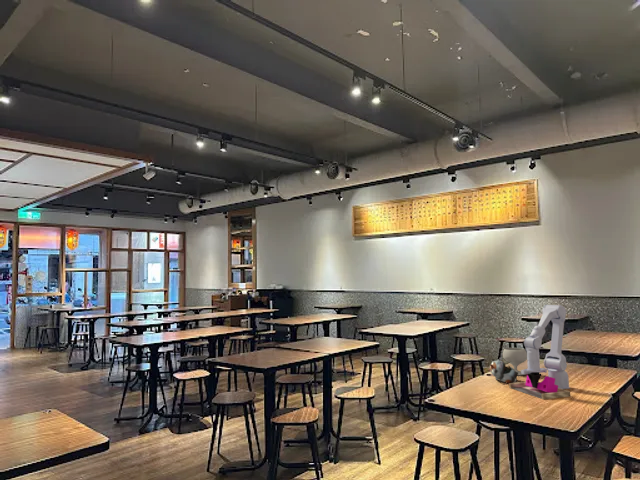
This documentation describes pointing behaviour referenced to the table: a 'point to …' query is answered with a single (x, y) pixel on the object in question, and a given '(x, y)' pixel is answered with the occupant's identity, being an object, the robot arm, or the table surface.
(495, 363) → the grey plush toy
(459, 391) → the table surface
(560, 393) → the wooden board
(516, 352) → the chalice
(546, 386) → the toy block
